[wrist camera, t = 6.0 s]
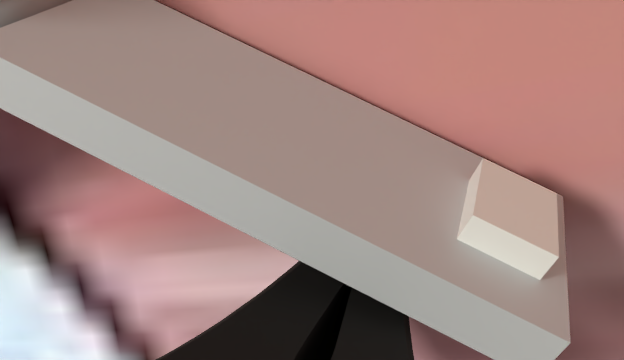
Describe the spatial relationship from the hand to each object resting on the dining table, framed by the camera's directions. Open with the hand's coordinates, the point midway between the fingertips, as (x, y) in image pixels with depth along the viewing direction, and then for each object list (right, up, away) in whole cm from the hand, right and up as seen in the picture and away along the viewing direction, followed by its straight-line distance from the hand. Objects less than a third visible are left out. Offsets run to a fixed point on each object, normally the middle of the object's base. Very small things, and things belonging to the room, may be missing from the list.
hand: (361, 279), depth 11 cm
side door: (-1, +3, 0) cm, 4 cm away
